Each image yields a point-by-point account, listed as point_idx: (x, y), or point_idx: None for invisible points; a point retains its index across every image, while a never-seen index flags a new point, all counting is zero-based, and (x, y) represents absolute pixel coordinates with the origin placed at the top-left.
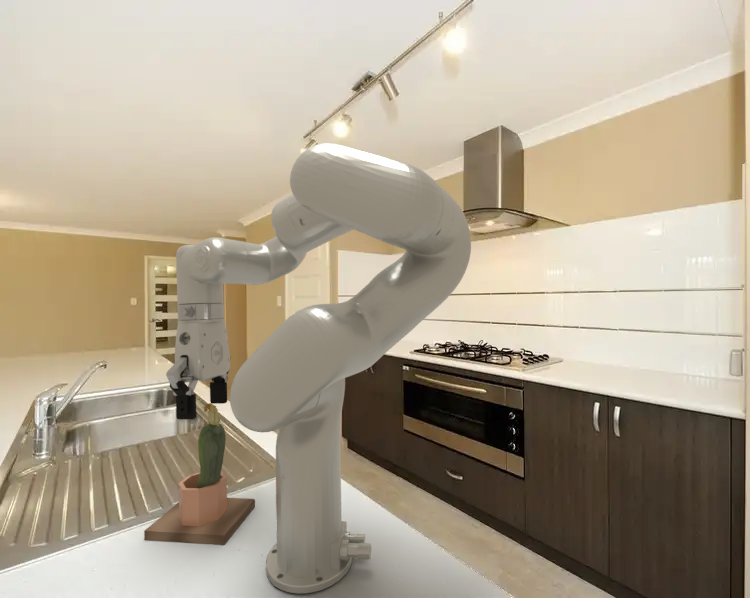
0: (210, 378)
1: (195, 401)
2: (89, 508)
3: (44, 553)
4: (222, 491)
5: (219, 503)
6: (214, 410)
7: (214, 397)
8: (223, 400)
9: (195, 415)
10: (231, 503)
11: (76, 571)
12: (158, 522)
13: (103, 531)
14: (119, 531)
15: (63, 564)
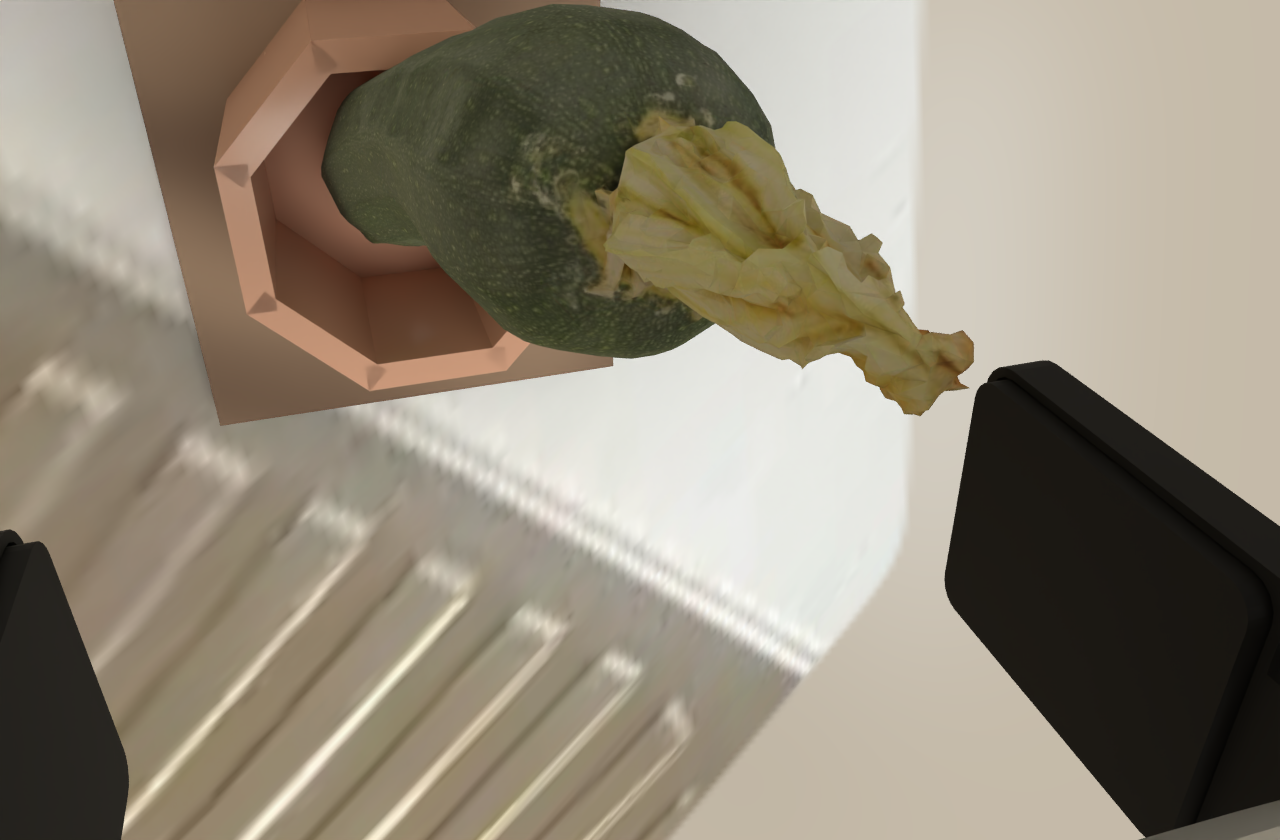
0: (1206, 826)
1: (1193, 501)
2: (415, 808)
3: (725, 649)
4: (380, 19)
5: (420, 6)
6: (820, 238)
7: (85, 797)
8: (40, 586)
9: (1045, 373)
10: (211, 14)
11: (813, 436)
12: (532, 355)
13: (566, 584)
14: (554, 519)
15: (778, 522)
